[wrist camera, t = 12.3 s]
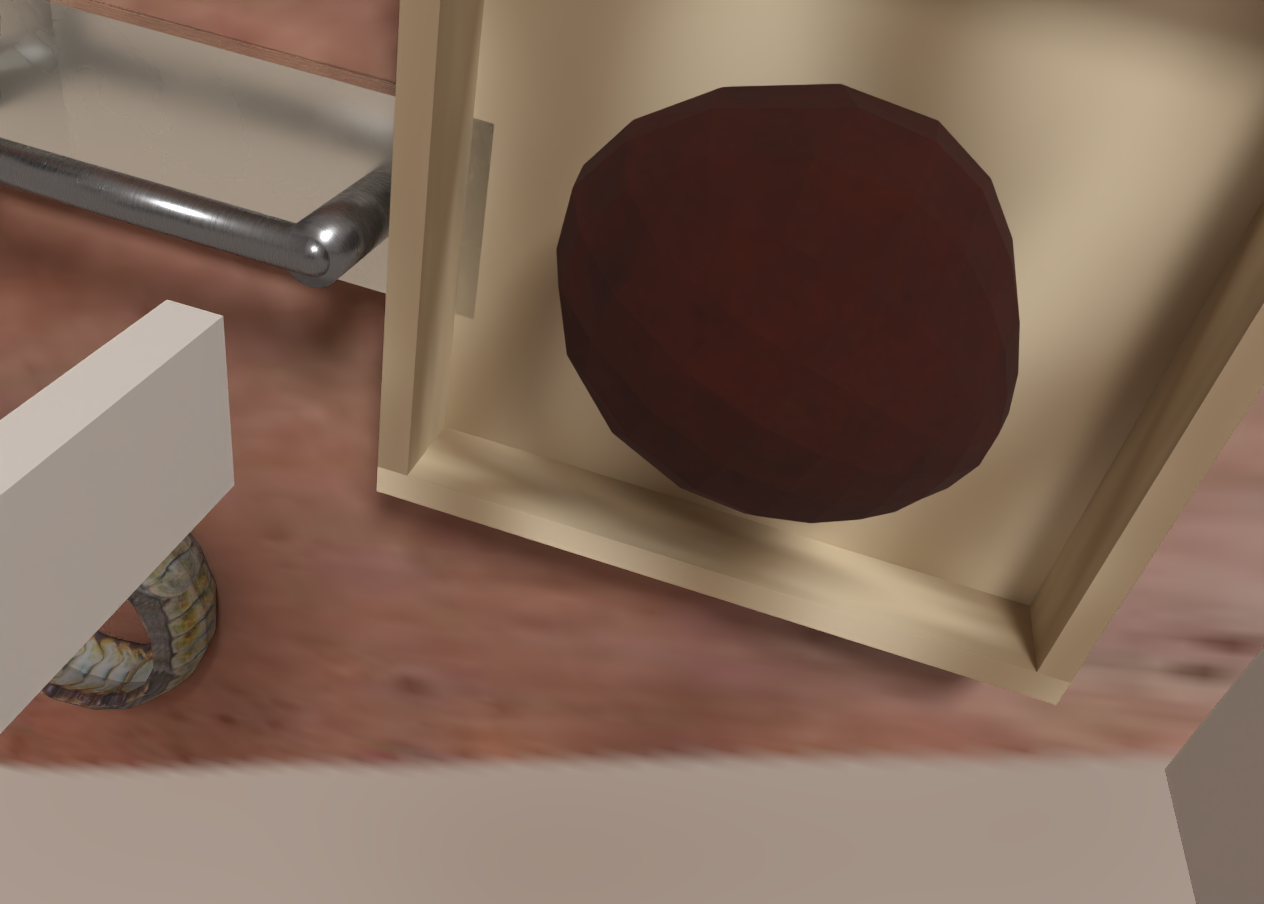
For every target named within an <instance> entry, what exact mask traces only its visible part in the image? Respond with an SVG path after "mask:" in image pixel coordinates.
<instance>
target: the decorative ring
mask: <svg viewBox="0 0 1264 904" xmlns="http://www.w3.org/2000/svg"><path fill="white" fill-rule="evenodd" d="M128 600H129V601H130V602H131V604H132V605H133V606H134V608H135V610H136V612H137V614H138V616H139V618H140V620H141V622H142V624H143V626H144V628H145V630H146V632H147V634H148V636H149V638H150V640H151V644H138V643H134V642H130V641H126V640H122V639H118V638H113V637H109V636H107V635H104V634H102V633H100V632H98V631H96V633H95V634H94V635H93V636H92V637H91V638H90V639H89V640H88V641H87V642H86V643H85V644H84V645H83V646H82V647H81V648H80V650H79V651H78V652H77V653H76V654H75V655H74V656H73V657H72V658H71V659H70V660H69V661H68V662H67V663H66V664H65V665H64V667H63V668H62V669H61V670H60V671H59V672H58V673H57V674H56V675H55V676H54V677H53V678H52V679H51V680H50V681H49V682H48V684H47V685H46V686H45V687H44V688H43V689H42V690H41V691H40V693H42V694H44V695H46V696H49V697H51V698H53V699H55V700H59V701H63V702H66V703H70V704H74V705H78V706H82V707H86V708H90V709H94V710H102V709H129V708H132V707H135V706H137V705H140V704H143V703H145V702H148V701H150V700H152V699H154V698H156V697H158V696H160V695H162V694H164V693H166V692H168V691H170V690H172V689H174V688H176V687H177V686H178V685H180V684H181V683H182V682H183V681H185V680H186V679H187V678H189V677H190V676H191V675H192V674H193V672H194V671H195V669H196V667H197V665H198V664H199V662H200V660H201V658H202V656H203V655H204V653H205V651H206V649H207V647H208V645H209V643H210V641H211V639H212V637H213V635H214V633H215V627H216V618H217V603H216V582H215V579H214V577H213V575H212V572H211V570H210V568H209V565H208V563H207V560H206V558H205V556H204V553H203V551H202V549H201V546H200V545H199V544H198V542H197V541H196V540H195V539H194V537H193V536H192V535H191V533H189V534H188V535H187V536H186V537H185V538H184V539H183V540H182V541H181V542H180V543H179V544H178V545H177V547H176V548H175V549H174V550H173V551H172V552H171V553H170V554H169V555H168V556H167V557H166V558H165V559H164V560H163V561H162V562H161V564H160V565H159V566H158V567H157V568H156V569H155V570H154V571H153V572H152V573H151V574H150V575H149V576H148V577H147V578H146V579H145V581H144V582H143V583H142V584H141V585H140V586H139V587H138V588H137V589H136V590H135V591H134V592H133V593H132V594H131V595H130V596H129V597H128Z"/></svg>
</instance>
